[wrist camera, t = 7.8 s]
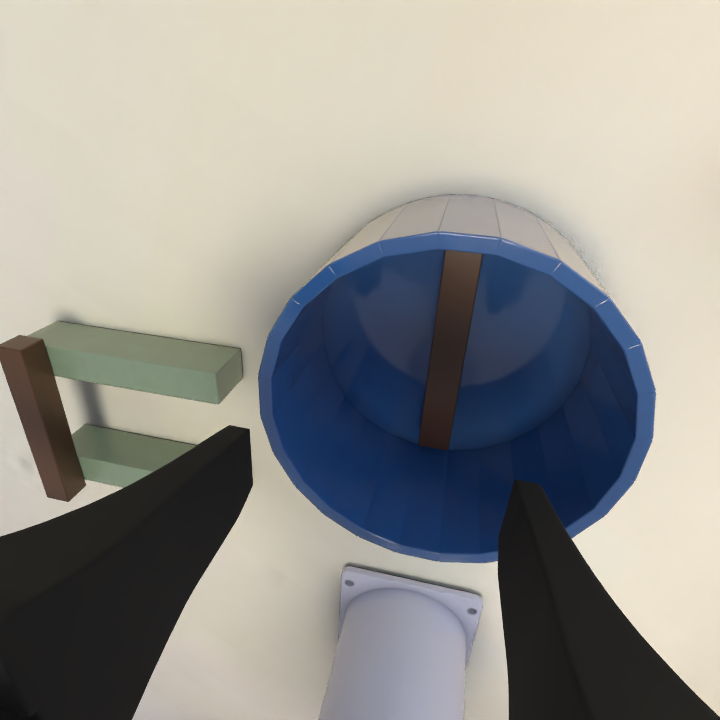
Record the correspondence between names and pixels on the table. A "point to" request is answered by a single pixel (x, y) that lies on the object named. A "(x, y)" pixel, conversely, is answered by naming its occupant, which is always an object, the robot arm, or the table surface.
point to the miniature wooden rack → (137, 372)
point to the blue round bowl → (477, 386)
